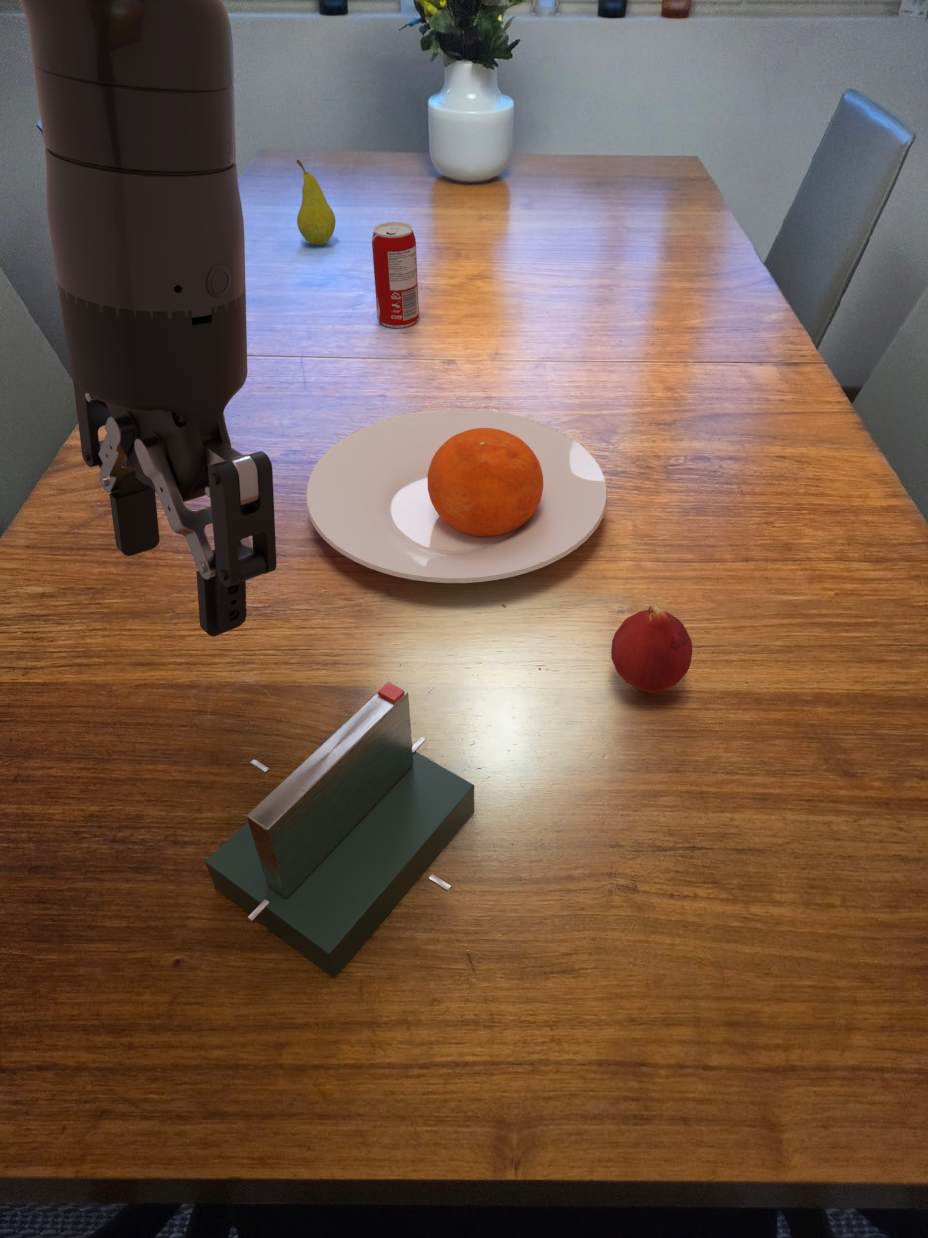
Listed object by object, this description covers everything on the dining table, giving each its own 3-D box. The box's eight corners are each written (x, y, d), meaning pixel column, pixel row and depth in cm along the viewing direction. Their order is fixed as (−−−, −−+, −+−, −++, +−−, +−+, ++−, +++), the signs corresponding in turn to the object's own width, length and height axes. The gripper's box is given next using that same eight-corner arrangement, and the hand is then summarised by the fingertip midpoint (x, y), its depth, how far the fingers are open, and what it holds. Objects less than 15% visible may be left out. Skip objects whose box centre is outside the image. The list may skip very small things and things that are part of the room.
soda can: (388, 309, 119) (382, 216, 111) (425, 315, 117) (422, 221, 109) (370, 325, 115) (363, 230, 107) (408, 331, 113) (404, 236, 105)
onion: (668, 655, 69) (685, 577, 64) (694, 708, 65) (715, 630, 60) (597, 664, 69) (608, 586, 63) (619, 719, 64) (633, 640, 59)
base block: (363, 1027, 48) (358, 1001, 46) (167, 875, 55) (155, 847, 53) (522, 823, 58) (524, 794, 56) (338, 716, 65) (334, 687, 63)
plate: (247, 530, 82) (230, 451, 76) (434, 410, 98) (431, 337, 92) (489, 658, 69) (490, 574, 63) (657, 496, 86) (670, 418, 80)
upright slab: (286, 899, 50) (266, 827, 46) (266, 885, 51) (244, 812, 46) (413, 764, 58) (408, 689, 53) (395, 753, 58) (388, 678, 53)
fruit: (340, 248, 136) (332, 164, 128) (303, 252, 135) (292, 167, 126) (334, 235, 140) (325, 153, 132) (297, 239, 139) (286, 156, 131)
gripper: (-10, 233, 38) (48, 546, 48) (157, 345, 31) (186, 688, 40) (150, 221, 43) (173, 509, 52) (329, 316, 35) (318, 630, 45)
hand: (179, 587), depth 46 cm, fingers open, 8 cm apart
